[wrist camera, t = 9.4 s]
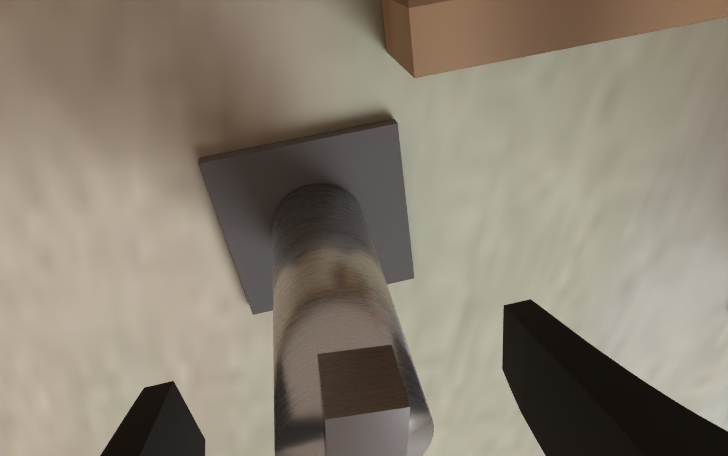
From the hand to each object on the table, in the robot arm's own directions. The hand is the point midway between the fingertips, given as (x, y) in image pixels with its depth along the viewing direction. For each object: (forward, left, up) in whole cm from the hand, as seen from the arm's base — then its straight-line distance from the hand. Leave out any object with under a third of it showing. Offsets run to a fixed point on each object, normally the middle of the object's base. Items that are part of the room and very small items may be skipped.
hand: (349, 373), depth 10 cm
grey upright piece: (0, 0, -6) cm, 6 cm away
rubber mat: (0, 0, -7) cm, 7 cm away
